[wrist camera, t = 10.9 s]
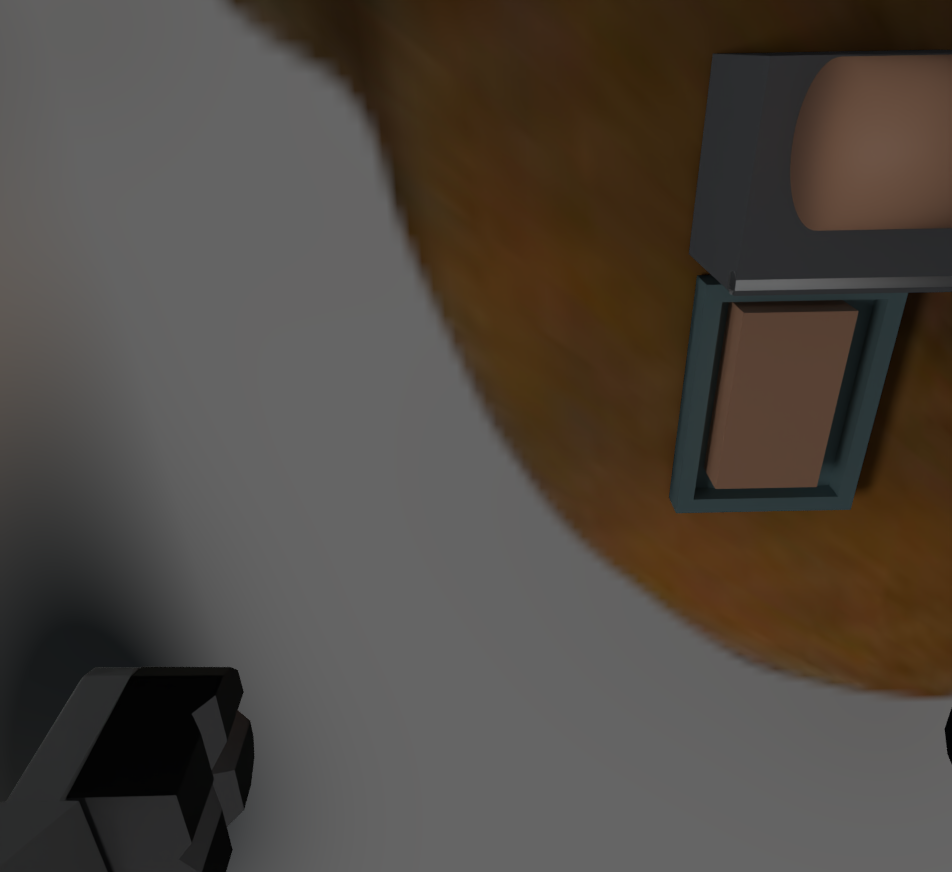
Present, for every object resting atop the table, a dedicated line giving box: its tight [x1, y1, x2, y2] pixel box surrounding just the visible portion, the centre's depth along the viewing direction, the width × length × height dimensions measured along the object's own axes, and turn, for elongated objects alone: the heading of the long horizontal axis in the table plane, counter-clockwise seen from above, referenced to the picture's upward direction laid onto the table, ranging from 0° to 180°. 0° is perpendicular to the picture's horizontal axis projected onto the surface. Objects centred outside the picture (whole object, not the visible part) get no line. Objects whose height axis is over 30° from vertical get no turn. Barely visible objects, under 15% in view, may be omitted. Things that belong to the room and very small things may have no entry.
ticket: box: [704, 300, 859, 489], centre depth 35 cm, size 9×5×2 cm, turn 1°
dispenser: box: [689, 50, 952, 296], centre depth 26 cm, size 8×9×11 cm
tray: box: [669, 275, 908, 513], centre depth 36 cm, size 12×9×2 cm
